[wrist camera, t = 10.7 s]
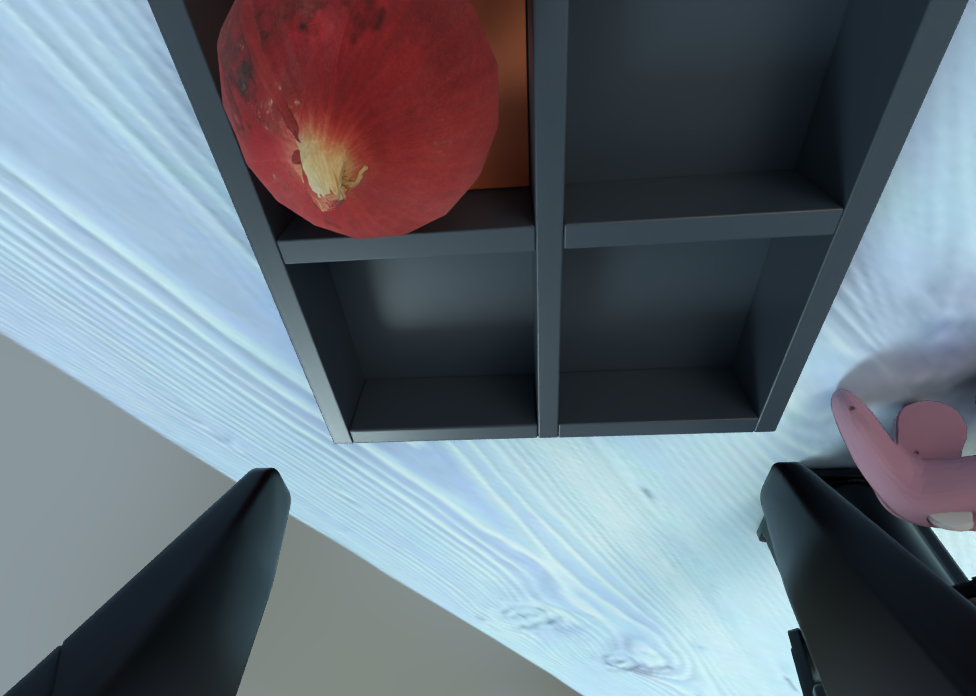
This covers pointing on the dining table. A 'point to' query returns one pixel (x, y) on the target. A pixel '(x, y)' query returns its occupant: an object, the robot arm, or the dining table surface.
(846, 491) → the robot arm
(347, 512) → the dining table surface
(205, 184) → the dining table surface
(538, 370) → the grid
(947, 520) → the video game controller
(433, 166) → the onion
